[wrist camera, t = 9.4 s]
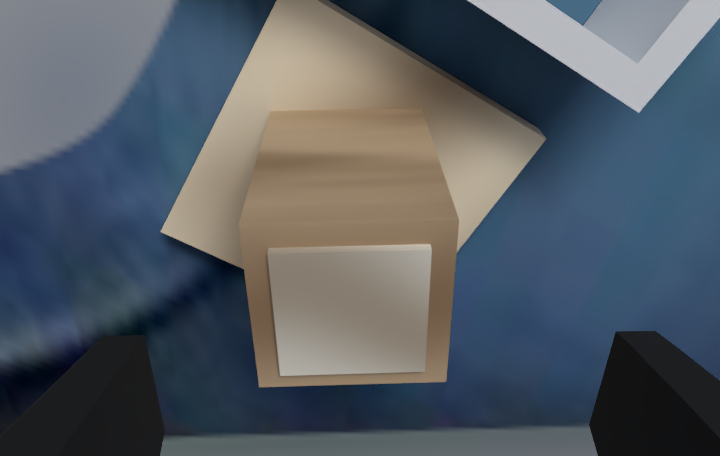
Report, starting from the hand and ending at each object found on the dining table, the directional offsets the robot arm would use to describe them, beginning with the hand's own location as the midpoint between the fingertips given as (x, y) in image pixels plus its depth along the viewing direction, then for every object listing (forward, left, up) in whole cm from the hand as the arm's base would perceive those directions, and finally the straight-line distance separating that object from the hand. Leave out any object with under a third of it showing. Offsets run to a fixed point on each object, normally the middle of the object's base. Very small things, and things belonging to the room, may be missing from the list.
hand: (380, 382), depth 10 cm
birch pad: (0, +1, -9) cm, 9 cm away
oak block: (0, +1, -9) cm, 9 cm away
